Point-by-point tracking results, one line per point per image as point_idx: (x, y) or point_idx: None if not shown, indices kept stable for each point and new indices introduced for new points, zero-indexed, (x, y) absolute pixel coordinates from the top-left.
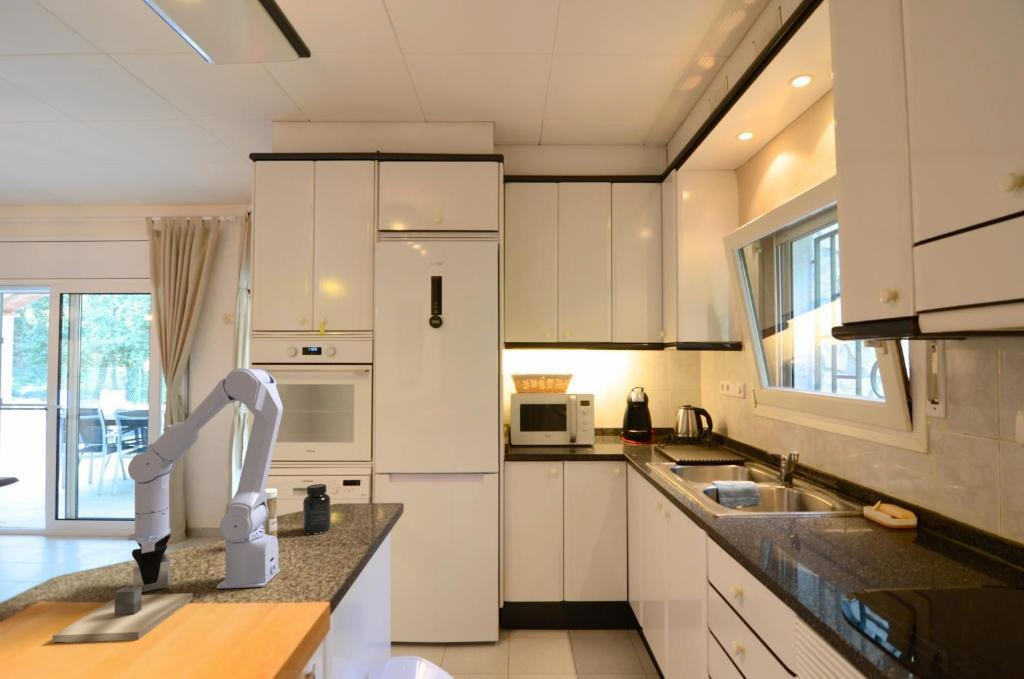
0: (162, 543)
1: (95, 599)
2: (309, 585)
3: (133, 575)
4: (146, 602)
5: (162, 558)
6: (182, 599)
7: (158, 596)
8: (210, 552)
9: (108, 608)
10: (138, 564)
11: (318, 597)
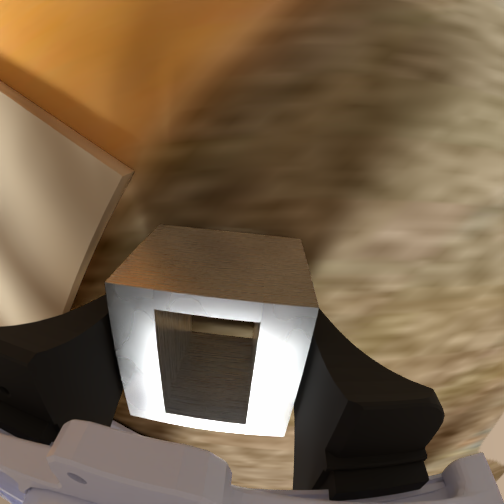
0: (297, 469)
1: (258, 70)
2: None
3: (124, 261)
4: (18, 270)
5: (248, 403)
6: None
7: (49, 304)
8: (449, 419)
9: (21, 157)
10: (45, 321)
11: None
